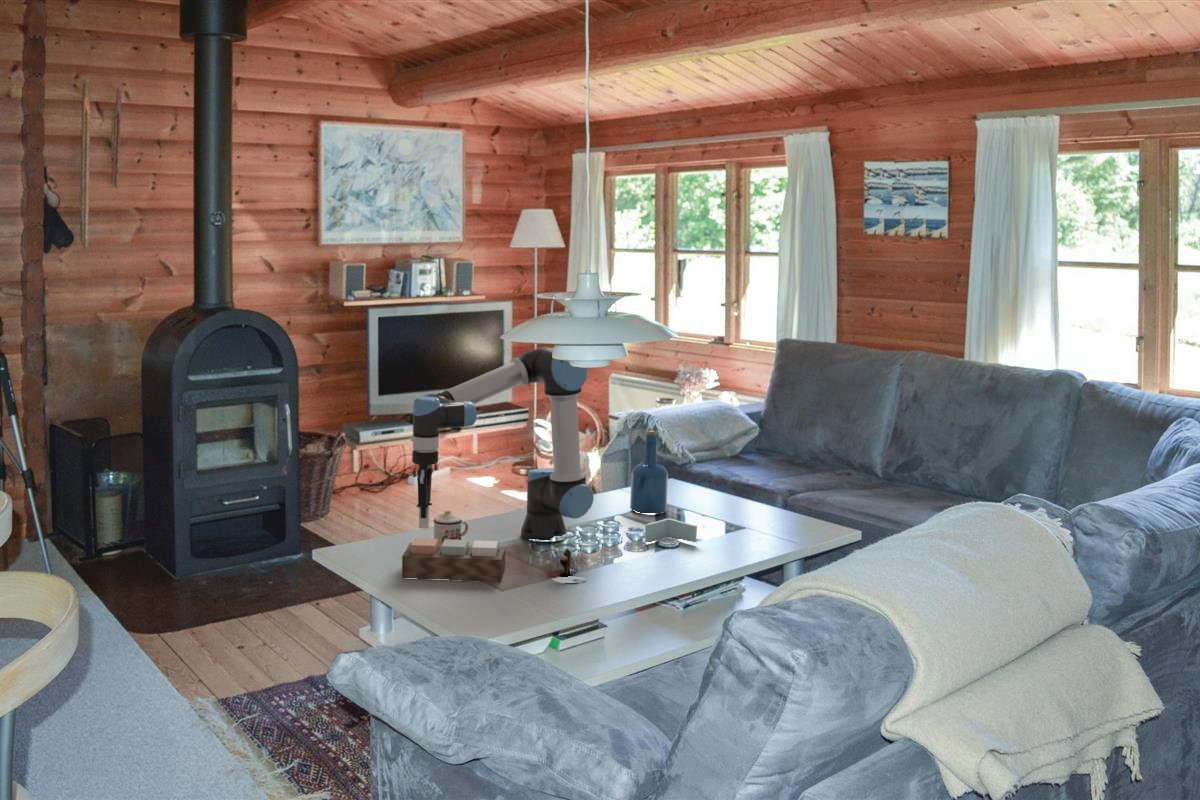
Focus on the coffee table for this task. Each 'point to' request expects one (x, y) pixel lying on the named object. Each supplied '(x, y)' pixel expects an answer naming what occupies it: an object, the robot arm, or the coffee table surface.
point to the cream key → (485, 548)
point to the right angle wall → (670, 531)
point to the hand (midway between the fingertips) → (423, 527)
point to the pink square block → (424, 546)
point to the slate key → (454, 547)
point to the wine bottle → (649, 481)
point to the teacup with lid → (448, 527)
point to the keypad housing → (454, 566)
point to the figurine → (565, 563)
